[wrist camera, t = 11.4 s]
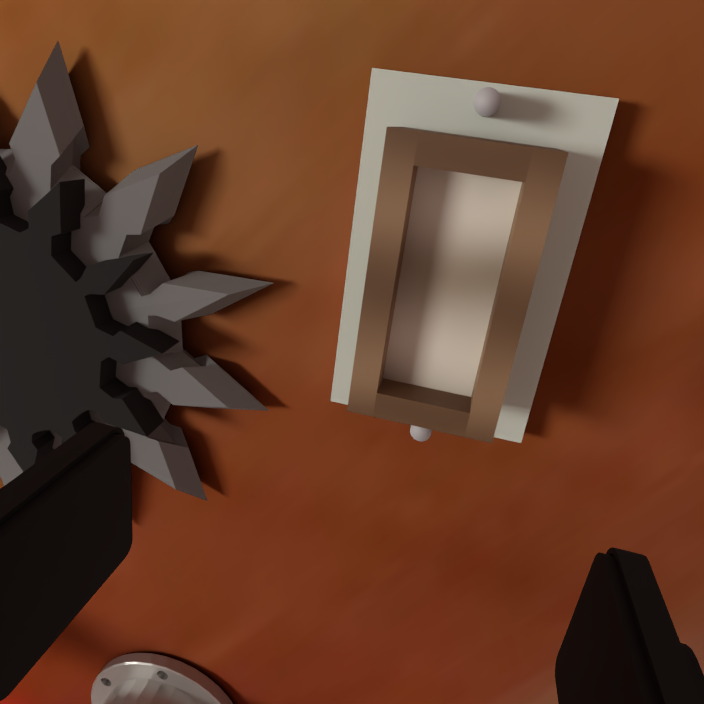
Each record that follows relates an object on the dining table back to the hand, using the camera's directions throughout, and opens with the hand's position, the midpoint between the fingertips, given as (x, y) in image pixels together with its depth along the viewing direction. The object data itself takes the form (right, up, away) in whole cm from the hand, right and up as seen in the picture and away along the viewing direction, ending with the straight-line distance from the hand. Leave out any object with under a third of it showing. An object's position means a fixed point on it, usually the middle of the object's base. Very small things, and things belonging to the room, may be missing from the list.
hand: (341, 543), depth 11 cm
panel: (+5, +8, +16) cm, 19 cm away
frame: (+5, +7, +15) cm, 17 cm away
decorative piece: (-18, +6, +23) cm, 30 cm away
